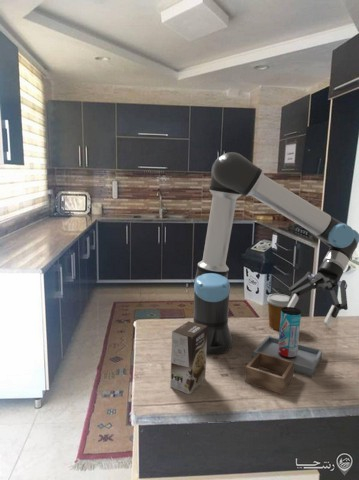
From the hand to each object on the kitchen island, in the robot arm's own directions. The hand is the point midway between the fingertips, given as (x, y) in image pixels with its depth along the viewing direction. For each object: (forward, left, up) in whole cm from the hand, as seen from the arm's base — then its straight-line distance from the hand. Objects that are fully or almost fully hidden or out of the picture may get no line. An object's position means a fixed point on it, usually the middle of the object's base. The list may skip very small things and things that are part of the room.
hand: (306, 317), depth 116 cm
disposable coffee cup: (-13, +14, -12) cm, 22 cm away
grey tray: (-3, -8, -12) cm, 14 cm away
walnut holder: (-4, -23, -12) cm, 26 cm away
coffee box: (-22, -38, -12) cm, 46 cm away
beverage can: (-3, -8, -11) cm, 14 cm away
